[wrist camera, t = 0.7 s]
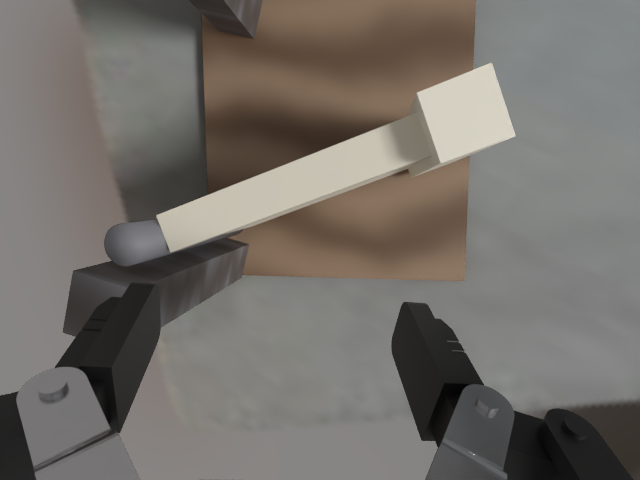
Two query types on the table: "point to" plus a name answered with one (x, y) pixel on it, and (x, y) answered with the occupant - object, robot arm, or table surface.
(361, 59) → the gate frame
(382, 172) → the gate
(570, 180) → the table surface
